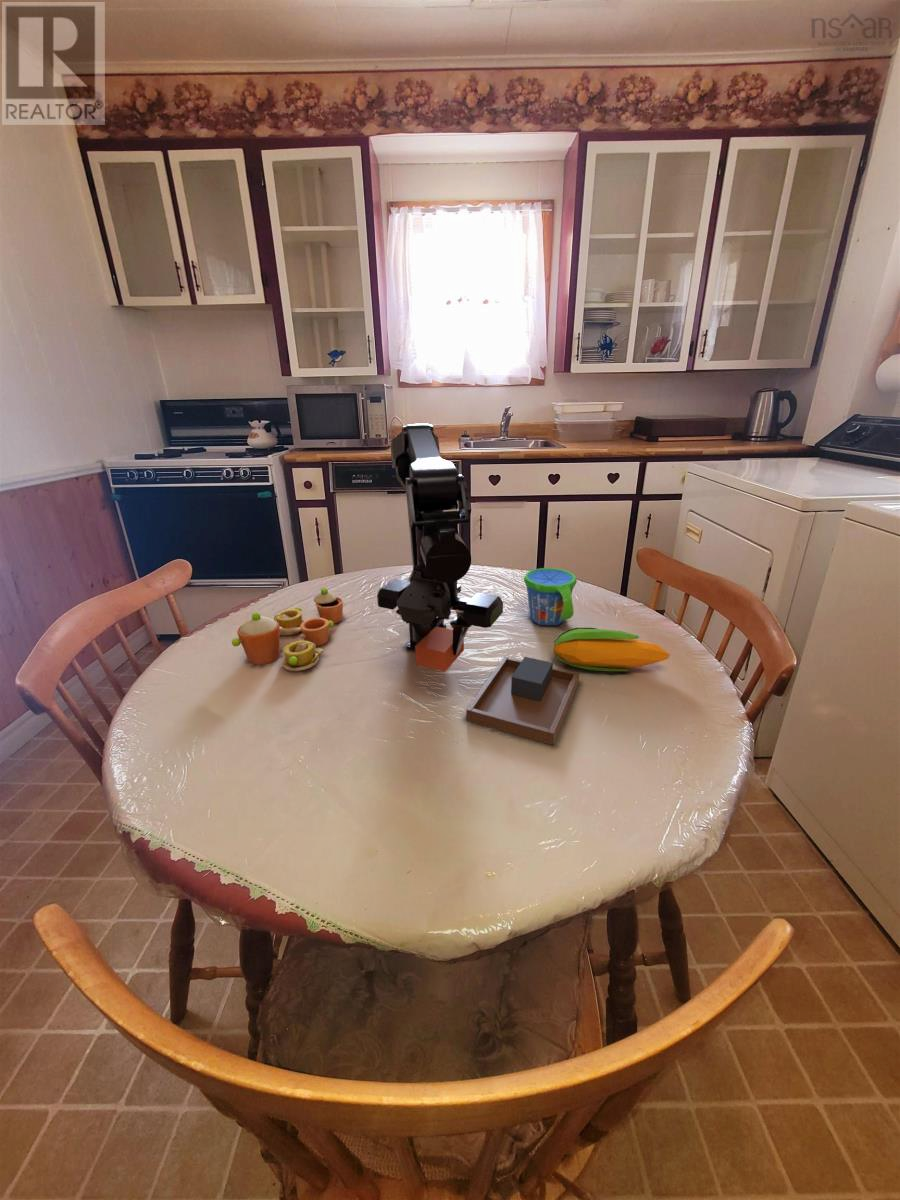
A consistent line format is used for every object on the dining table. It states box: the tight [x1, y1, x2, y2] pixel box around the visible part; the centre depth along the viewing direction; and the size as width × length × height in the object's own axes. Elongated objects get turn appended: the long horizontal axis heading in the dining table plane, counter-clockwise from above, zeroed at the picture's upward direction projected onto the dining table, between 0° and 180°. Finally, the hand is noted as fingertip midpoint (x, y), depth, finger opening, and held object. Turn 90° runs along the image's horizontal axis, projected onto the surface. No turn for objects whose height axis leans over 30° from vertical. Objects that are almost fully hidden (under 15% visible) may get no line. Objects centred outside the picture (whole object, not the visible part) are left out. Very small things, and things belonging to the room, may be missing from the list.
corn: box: [552, 627, 671, 672], centre depth 86 cm, size 7×8×20 cm
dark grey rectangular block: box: [511, 656, 554, 701], centre depth 81 cm, size 5×7×3 cm
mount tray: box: [466, 656, 580, 746], centre depth 79 cm, size 14×17×2 cm
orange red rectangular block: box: [414, 627, 465, 673], centre depth 76 cm, size 5×7×3 cm
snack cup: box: [523, 567, 578, 627], centre depth 103 cm, size 16×10×10 cm
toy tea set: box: [231, 587, 344, 672], centre depth 97 cm, size 26×16×10 cm, turn 173°
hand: (440, 650), depth 76 cm, fingers closed on orange red rectangular block, 5 cm apart
